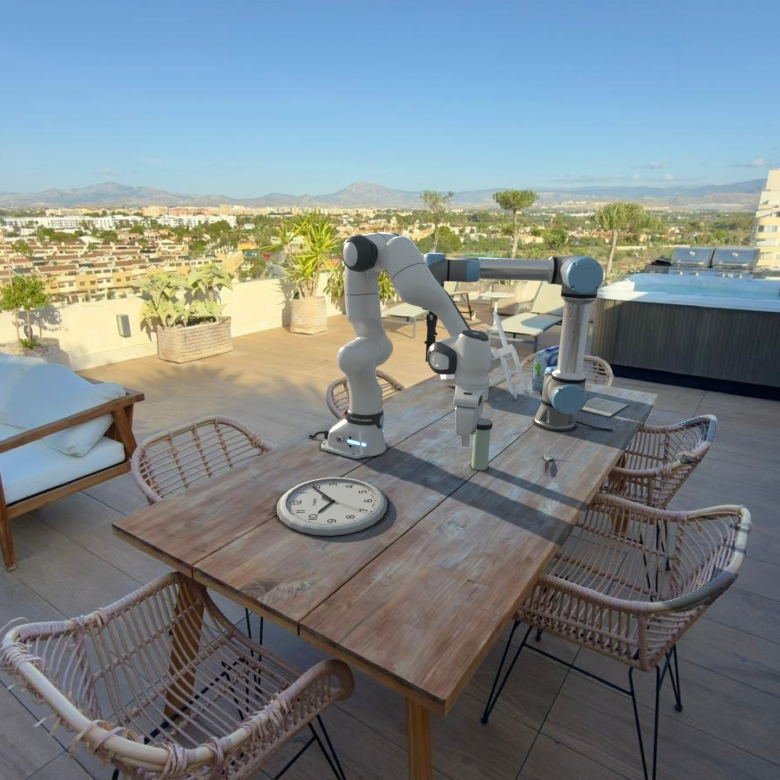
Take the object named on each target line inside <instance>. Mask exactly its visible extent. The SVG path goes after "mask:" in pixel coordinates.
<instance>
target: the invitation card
mask: <svg viewBox="0 0 780 780" xmlns="http://www.w3.org/2000/svg"><path fill="white" fill-rule="evenodd" d="M628 406H629V404H627V403H623V402H618V401H614V400H609V399H605V398H601V397H596V396H593V397H592V398H590V399H587V401H586V404H585V406H584V407H583V408H582V409H581V410H580V411H584V412H587V413H593V414H596V415H600V416H604V417H608V418H609V417H611V416H613V415H614V414H616V413H617V412H619V411H621V410H623V409H624V408H626V407H628Z"/></svg>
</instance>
